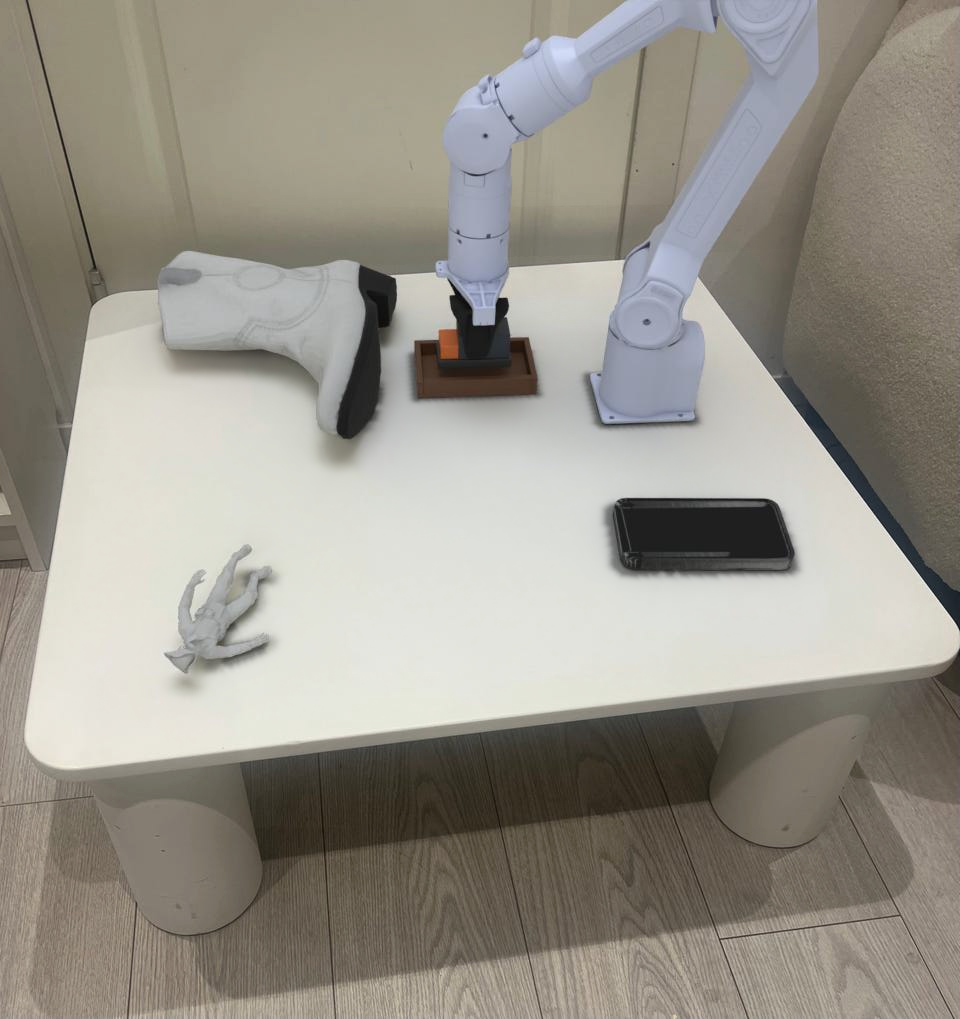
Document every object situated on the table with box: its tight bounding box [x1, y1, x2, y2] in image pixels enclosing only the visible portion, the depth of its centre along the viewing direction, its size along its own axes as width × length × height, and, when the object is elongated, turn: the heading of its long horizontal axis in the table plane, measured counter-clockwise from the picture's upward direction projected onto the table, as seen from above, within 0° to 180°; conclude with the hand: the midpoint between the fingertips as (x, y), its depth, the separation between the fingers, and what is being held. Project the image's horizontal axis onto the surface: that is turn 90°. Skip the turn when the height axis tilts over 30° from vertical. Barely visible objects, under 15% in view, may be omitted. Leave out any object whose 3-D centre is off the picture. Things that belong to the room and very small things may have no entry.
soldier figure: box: [163, 543, 273, 675], centre depth 80 cm, size 8×5×12 cm
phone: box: [612, 497, 796, 571], centre depth 90 cm, size 8×1×15 cm
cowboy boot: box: [156, 250, 398, 441], centre depth 103 cm, size 10×28×25 cm
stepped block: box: [436, 316, 512, 369], centre depth 103 cm, size 8×4×4 cm, turn 95°
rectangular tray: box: [413, 336, 539, 399], centre depth 105 cm, size 12×7×2 cm, turn 95°
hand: (474, 344), depth 103 cm, fingers closed on stepped block, 3 cm apart
